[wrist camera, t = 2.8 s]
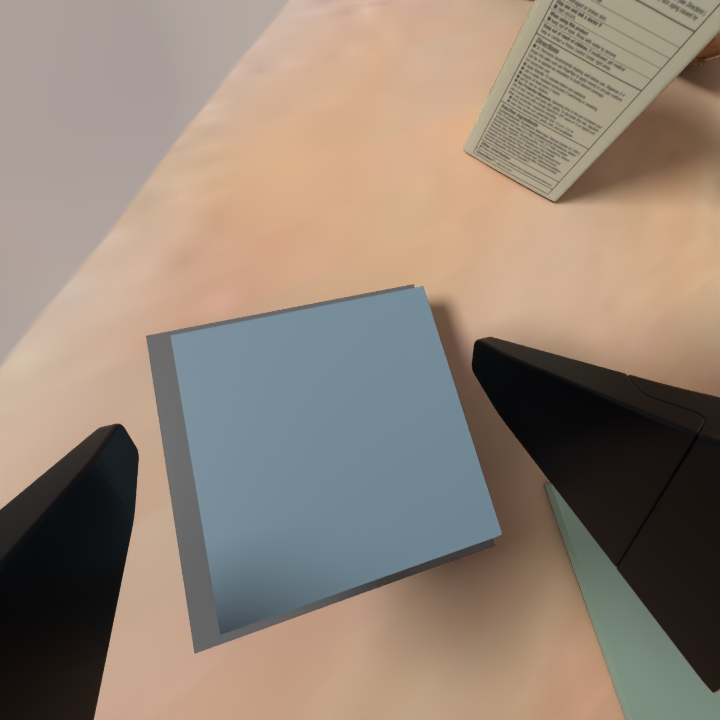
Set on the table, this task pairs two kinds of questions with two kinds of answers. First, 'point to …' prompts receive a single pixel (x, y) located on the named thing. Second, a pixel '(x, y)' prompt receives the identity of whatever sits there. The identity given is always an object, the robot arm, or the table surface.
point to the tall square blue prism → (326, 452)
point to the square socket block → (188, 507)
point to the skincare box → (583, 83)
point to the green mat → (632, 635)
